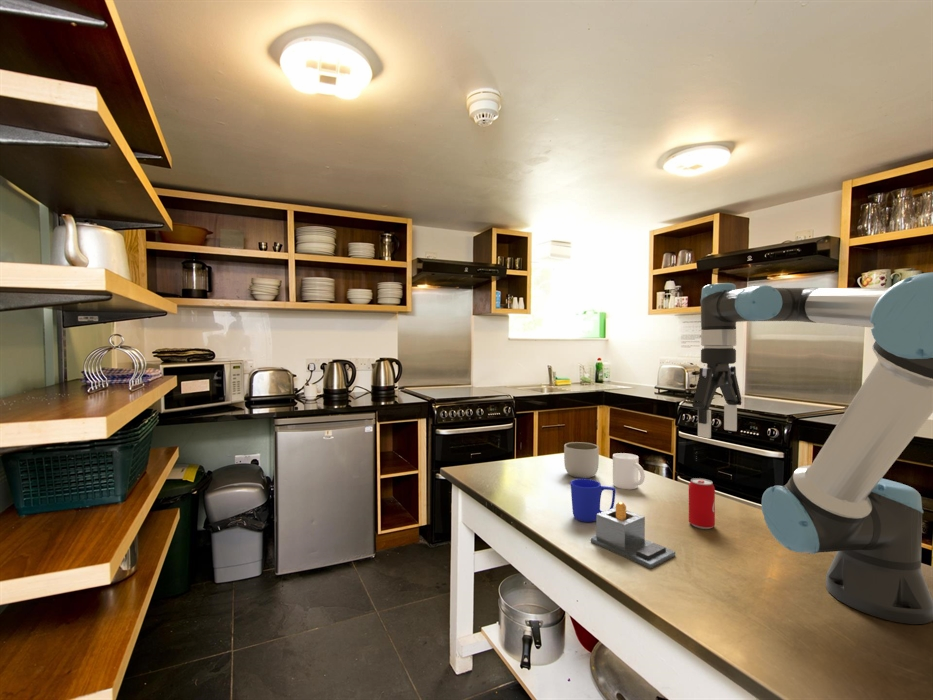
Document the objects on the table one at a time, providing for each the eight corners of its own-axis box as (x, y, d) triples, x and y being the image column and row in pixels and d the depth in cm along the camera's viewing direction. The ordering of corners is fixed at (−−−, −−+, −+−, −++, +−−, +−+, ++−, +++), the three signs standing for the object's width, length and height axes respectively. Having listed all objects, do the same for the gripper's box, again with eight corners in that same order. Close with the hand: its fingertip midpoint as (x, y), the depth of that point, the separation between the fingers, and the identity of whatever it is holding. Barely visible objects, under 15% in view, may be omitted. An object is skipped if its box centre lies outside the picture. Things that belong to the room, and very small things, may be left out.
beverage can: (717, 525, 120) (717, 480, 119) (711, 532, 115) (711, 486, 115) (692, 519, 124) (692, 476, 124) (685, 525, 119) (685, 481, 119)
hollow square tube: (644, 541, 108) (644, 516, 108) (624, 550, 103) (624, 524, 103) (616, 530, 114) (616, 507, 114) (596, 538, 110) (596, 514, 110)
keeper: (675, 555, 103) (675, 511, 102) (650, 568, 97) (650, 522, 97) (615, 532, 116) (616, 492, 115) (590, 542, 110) (590, 501, 110)
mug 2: (652, 490, 147) (653, 459, 147) (634, 494, 144) (634, 463, 144) (625, 480, 158) (625, 452, 158) (607, 484, 154) (607, 454, 154)
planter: (557, 475, 165) (557, 445, 165) (576, 468, 174) (576, 440, 174) (586, 482, 156) (586, 451, 156) (605, 475, 165) (605, 445, 165)
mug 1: (617, 526, 119) (617, 489, 119) (570, 523, 121) (570, 486, 121) (613, 515, 127) (613, 480, 127) (570, 512, 129) (570, 477, 129)
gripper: (725, 346, 120) (725, 425, 120) (676, 347, 105) (676, 437, 105) (756, 347, 114) (756, 429, 114) (709, 347, 99) (709, 443, 99)
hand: (717, 433), depth 110 cm, fingers open, 13 cm apart
